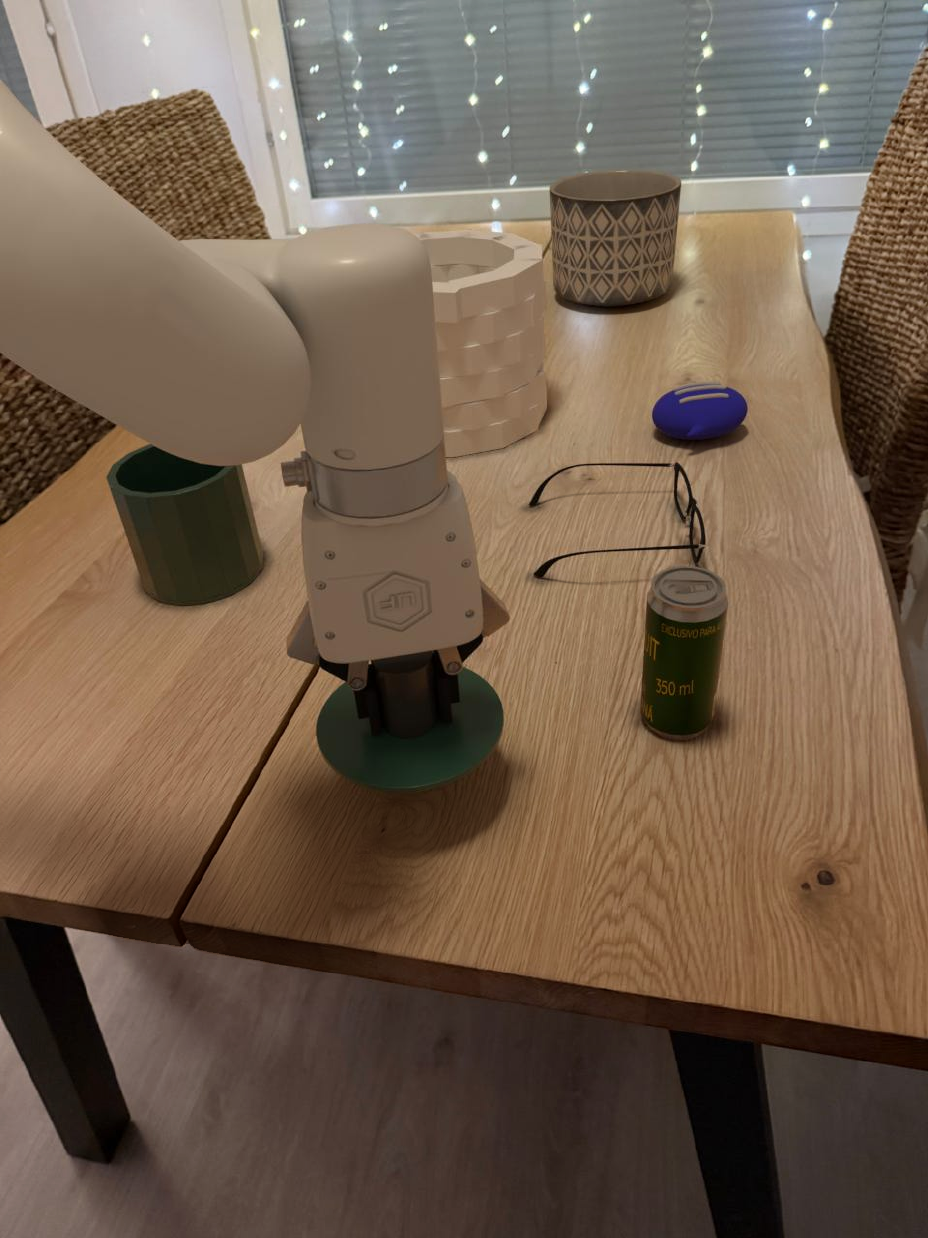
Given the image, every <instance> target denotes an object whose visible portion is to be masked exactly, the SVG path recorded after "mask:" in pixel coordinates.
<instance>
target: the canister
mask: <svg viewBox="0 0 928 1238" xmlns="http://www.w3.org/2000/svg"><path fill="white" fill-rule="evenodd" d="M106 480H107V484H108V487H109V490H110V493H111V495H112V499H113V501H114V504H115V508H116V510H117V513H118V516H119V518H120V522H121V525H122V527H123V530H124V533H125V537H126V539H127V543H128V546H129V548H130V551H131V554H132V557H133V560H134V562H135V565H136V569H137V572H138V575H139V577H140V580H141V583H142V586H143V589H144V590H145V592H146V593H147V595H148V596H149V597H151V598H152V599H153V600H155V601H157V602H160V603H163V604H167V605H172V606H197V605H203V604H209V603H213V602H217V601H220V600H222V599H225V598H227V597H231V596H232V595H235V594H236V593H238V592H240V591H242V590H243V589H245V588H246V587H248V586H249V585H250V584H252V582H254V580H256V579H257V577H258V575H260V573H261V571H262V569H263V567H264V561H265V559H264V551H263V547H262V542H261V538H260V534H259V531H258V526H257V522H256V518H255V517H256V516H255V514H254V509H253V505H252V500H251V497H250V493H249V489H248V485H247V480H246V476H245V472H244V468H243V464H241V465H233V466H216V465H208V464H201V463H197V462H194V461H190V460H187V459H184V458H180V457H178V456H175V455H173V454H170V453H168V452H166V451H164V450H162V449H159V448H157V447H155V446H154V445H152V444H150V443H148V444H146V445H144V446H141V447H139V448H137V449H135V450H133V451H130V452H128V453H126V454H125V455H124V456H123V457H121V458H120V459H118V460H117V461H116V462H115V463H113V464H112V466H111V468H110V469H109V471H108V473H107V475H106Z"/></svg>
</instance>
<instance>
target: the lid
mask: <svg viewBox="0 0 928 1238" xmlns="http://www.w3.org/2000/svg"><path fill="white" fill-rule="evenodd" d="M370 664H371V666H372V672H373V678H374V681H375V687H376V693H377V700H378V707H379V713H380V720H381V726H382V732H380V733H379V734H380V735H375V736H372V733H371V727H370V720H369V718H364V719H358V714H357V708H356V702H355V696H354V691H353V690H351V689H350V688H349V687H348V684H347V682H345V681H344V682H343V683H342V684H340V685H339V686H338V687H337V688H336V689H335V690H334V691H333V692H331V694H330V695H329V697H328V698H327V699H326V700H325V702H324V704H323V705H322V707H321V709H320V712H319V714H318V717H317V720H316V726H315V736H316V742H317V747H318V750H319V752H320V754H321V756H322V758H323V760H324V761H325V763H326V764H327V766H329V767H330V768H331V770H332V771H333V772H335V773H336V774H337V775H338V776H340V778H342V779H344V780H346V781H348V782H350V783H351V784H354V785H356V786H358V787H361V788H364V789H368V790H372V791H376V792H381V793H389V794H390V793H391V794H411V793H420V792H426V791H430V790H435V789H438V788H442V787H445V786H448V785H451V784H453V783H455V782H458V781H460V780H461V779H463V778H465V777H466V776H469V775H470V774H471V773H473V772H474V771H476V770H477V769H478V768H479V767H481V766H482V765H483V764H484V763H485V762H486V761H487V760H488V759H490V757H491V756H492V754H493V753H494V752H495V750H496V748H497V746H498V745H499V743H500V742H501V738H502V736H503V733H504V726H505V717H504V708H503V703H502V701H501V699H500V696H499V694H498V692H496V690H495V688H494V687H493V686H492V685H491V684H490V683H489V682H488V681H487V680H486V679H485V678H484V677H482V676H481V675H479V674H478V673H477V672H475V671H473V670H471V669H469V668H467V667H464V666H463V669H462V671H461V672H460V673H458V683H459V696H460V702H459V703H453V704H451V710H452V721H453V722H451V723H444V722H441V718H440V714H439V706H438V696H437V686H436V676H435V665H434V655H433V650H432V651H426V652H420V653H414V654H408V655H401V656H395V657H389V658H382V659H376V660H370Z"/></svg>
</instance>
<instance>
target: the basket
mask: <svg viewBox="0 0 928 1238" xmlns="http://www.w3.org/2000/svg"><path fill="white" fill-rule="evenodd" d="M413 235H415V236H416V237H417V238H418V239H419V240H420V241H421V242H422V244H423V245H424V247H425V249H426V251H427V253H428V256H429V260H430V267H431V274H432V285H433V298H434V311H435V323H436V336H437V349H438V362H439V375H440V388H441V401H442V414H443V427H444V440H445V453H446V458H456V457H462V456H468V455H473V454H477V453H484V452H490V451H495V450H502V449H504V448H507V447H508V446H510V445H511V444H513V443H516V442H517V441H520V440H521V439H523V438H525V437H527V436H530V435H531V434H533V433H535V432H537V431H539V426H540V424H541V422H542V420H543V418H544V416H545V414H546V412H547V409H548V391H547V390H548V388H547V386H548V385H547V384H546V371H545V369H544V362H545V360H546V359H547V355H546V354H547V353H546V352H547V351H546V350H547V349H546V348H547V347H546V333H545V316H544V315H543V314H544V313H545V311H546V309H547V279H544V259H543V244H541V243H536V242H534V241H531V240H530V239H527V238H524V237H521V236H519V235H518V234H515V233H513V232H512V233H511V232H501V231H500V232H499V231H489V230H477V229H458V230H456V229H455V230H445V231H444V230H443V231H428V232H420V233H413Z"/></svg>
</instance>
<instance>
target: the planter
mask: <svg viewBox="0 0 928 1238" xmlns="http://www.w3.org/2000/svg"><path fill="white" fill-rule="evenodd" d="M681 192H682V180H681V179H680V178H679V176H677V175H675V174H672V173H669V172H665V171H659V170H650V169H637V168H636V169H635V168H634V169H633V168H631V169H630V168H629V169H628V168H626V169H625V168H623V169H621V168H620V169H619V168H618V169H604V170H594V171H588V172H582V173H577V174H572V175H569V176H565V177H563V178H560V179H558V180H556V181H554V182H553V183H551V184H550V186H549V211H550V235H551V259H552V260H551V262H552V285H553V286H552V287H553V290H554V292H555V293H556V294H557V295H558V296H559V297H561V298H562V299H565V300H568V301H570V302H573V303H577V304H582V305H590V306H595V307H605V308H614V307H625V306H630V305H634V304H639V303H643V302H644V303H645V302H647V301H651V300H654V299H657V298H658V297H661V296H663V295H664V294H666V293H667V292H668V291H669V290H670V289H671V288H672V285H673V281H674V267H675V257H676V245H677V236H678V227H679V226H678V224H679V215H680V214H679V213H680V202H681Z"/></svg>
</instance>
